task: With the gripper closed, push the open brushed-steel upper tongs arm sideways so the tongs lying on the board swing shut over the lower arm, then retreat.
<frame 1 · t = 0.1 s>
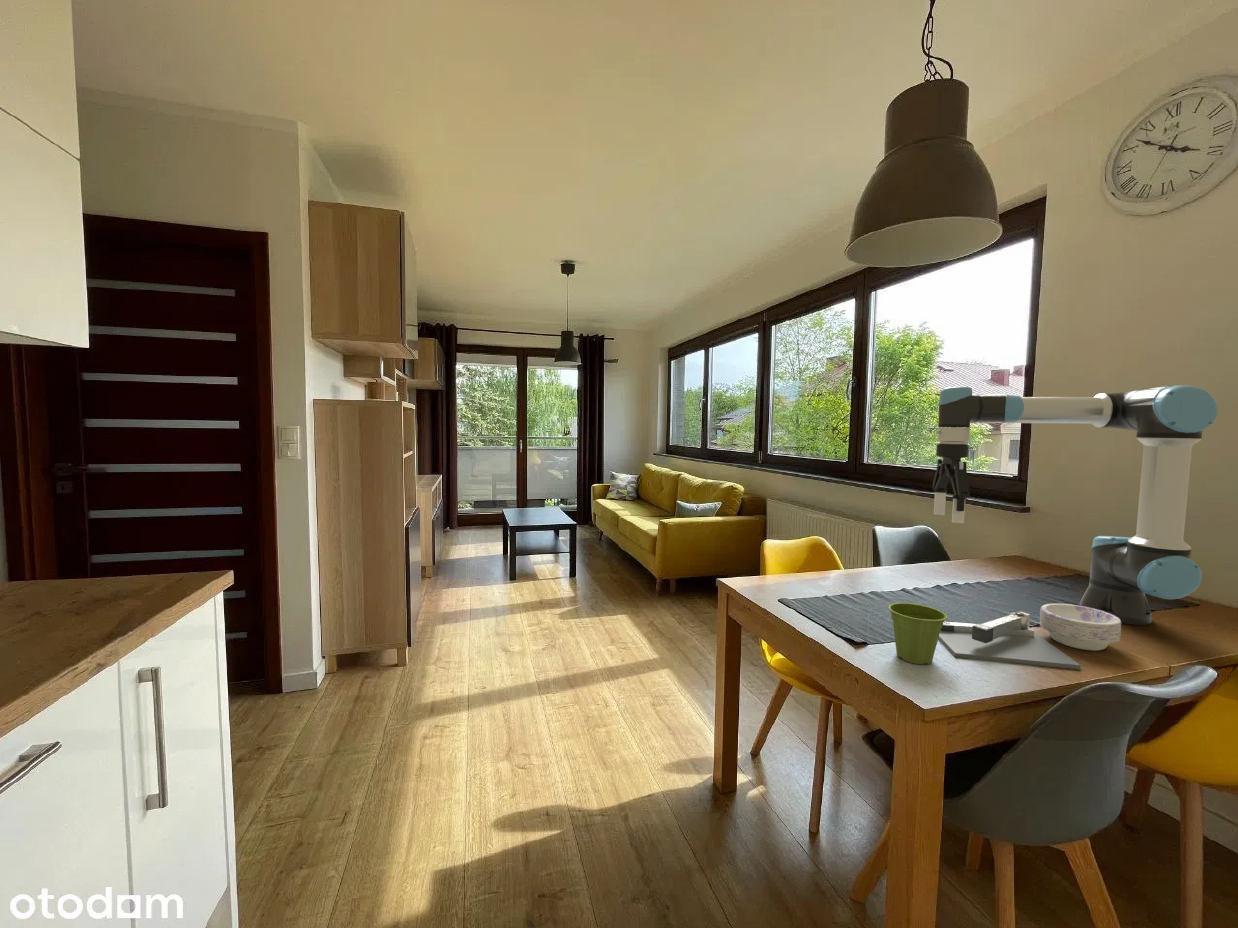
hand: (948, 518, 147), 28 cm above the table, fingers open, 13 cm apart
paper bowls: (1077, 644, 131), on the table
plant pot: (914, 659, 121), on the table
board: (994, 644, 130), on the table
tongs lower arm: (1018, 637, 134), resting on board
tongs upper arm: (1003, 625, 130), point 5 cm above the table, hinge at 38.0°
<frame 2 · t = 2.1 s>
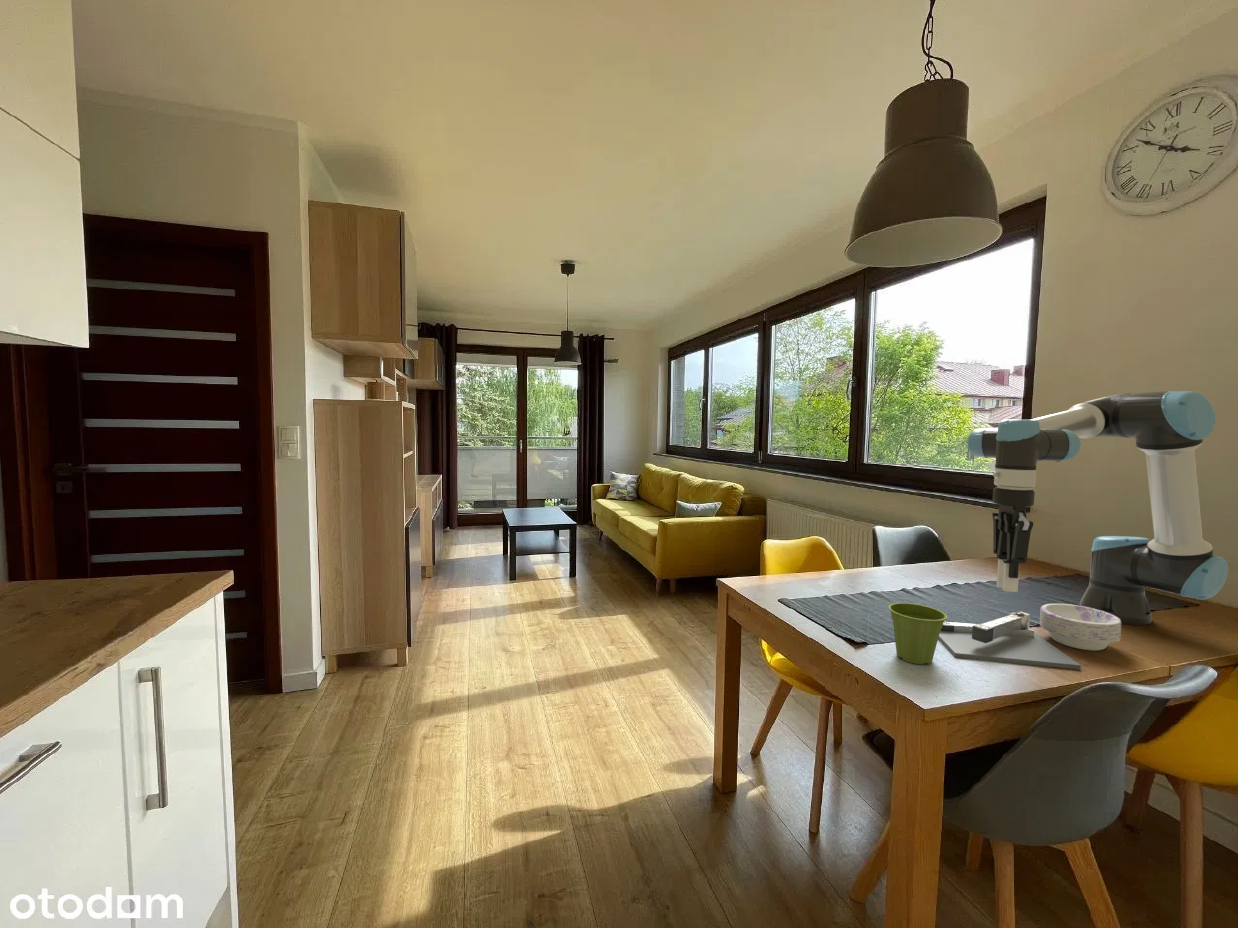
hand: (1006, 588, 121), 16 cm above the table, fingers open, 2 cm apart
nothing on the table moved.
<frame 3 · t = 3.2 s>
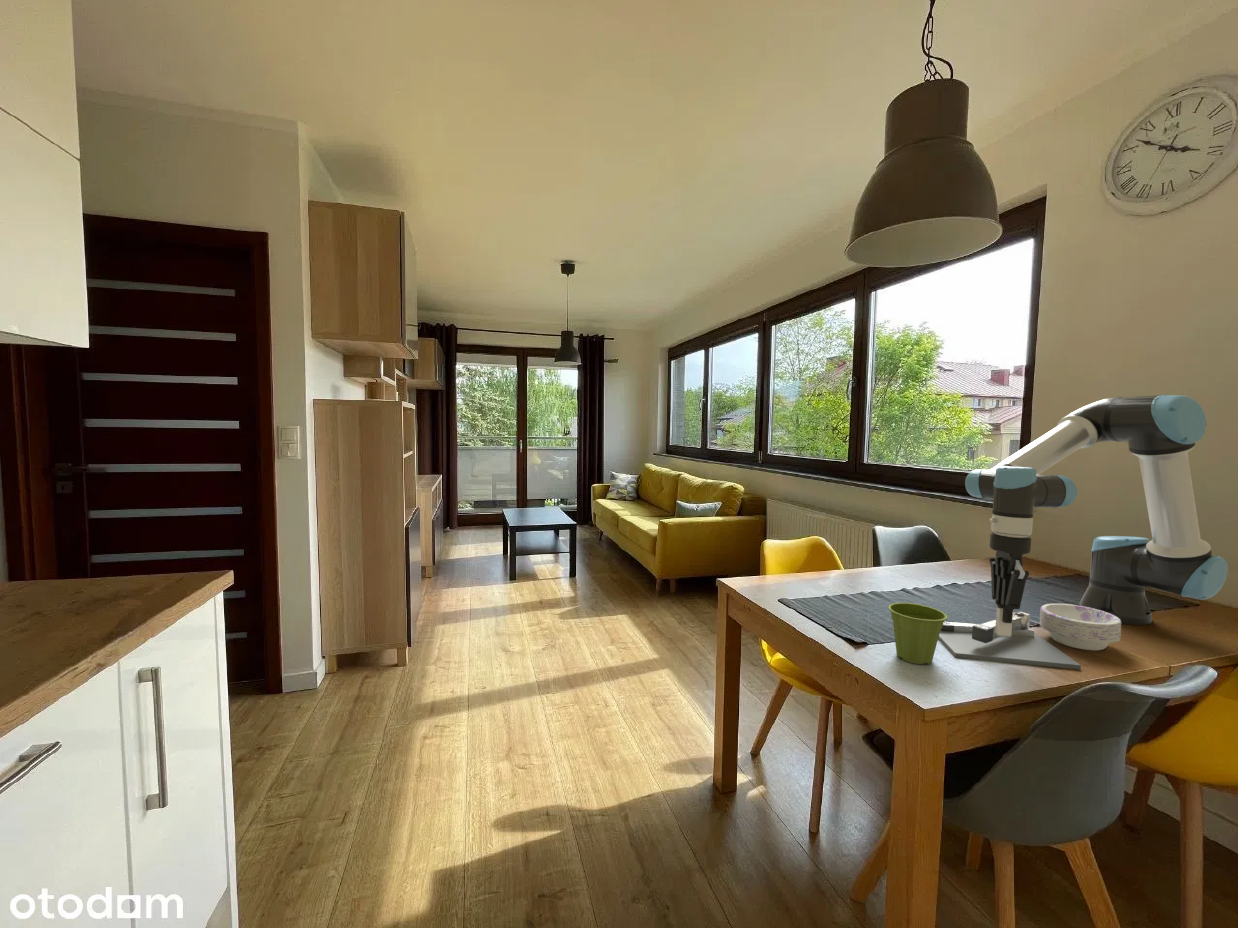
hand: (1002, 634, 121), 6 cm above the table, fingers closed
nothing on the table moved.
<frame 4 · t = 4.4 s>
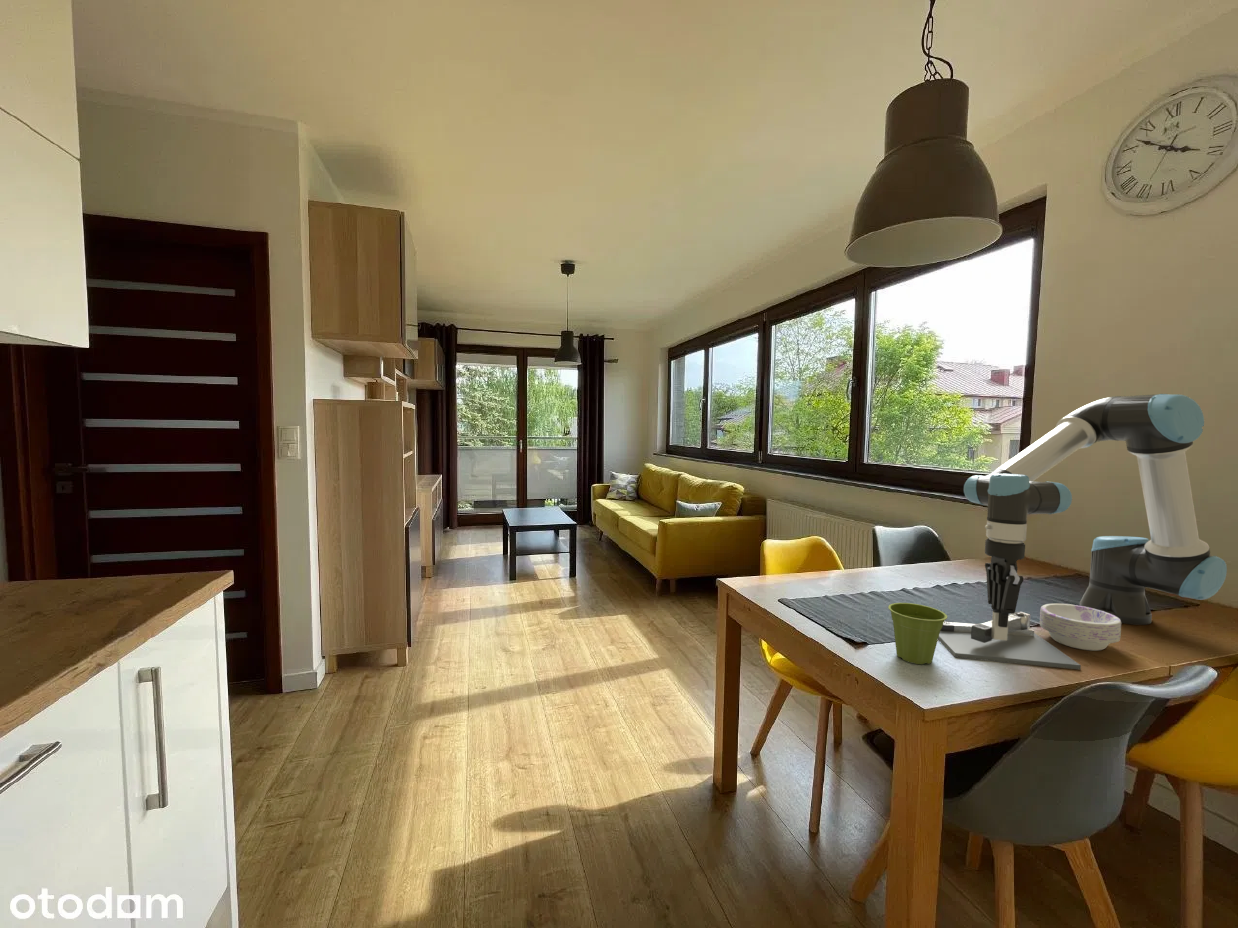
hand: (999, 638, 124), 4 cm above the table, fingers closed
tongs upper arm: (1002, 625, 130), point 5 cm above the table, hinge at 37.3°, touching gripper
everything else where it was.
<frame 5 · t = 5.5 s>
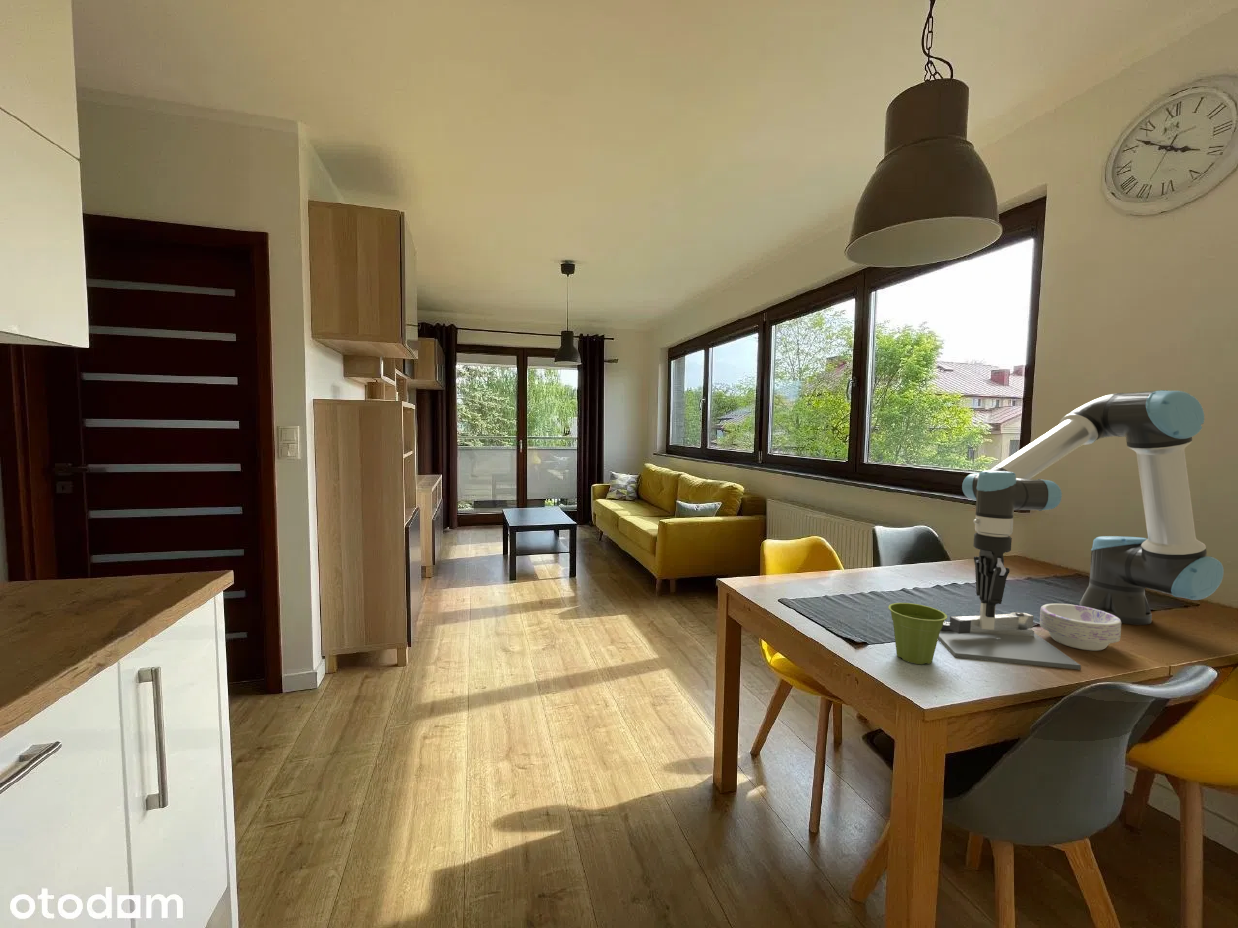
hand: (986, 628, 129), 4 cm above the table, fingers closed
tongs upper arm: (992, 621, 132), point 5 cm above the table, hinge at 19.1°, touching gripper
everything else where it was.
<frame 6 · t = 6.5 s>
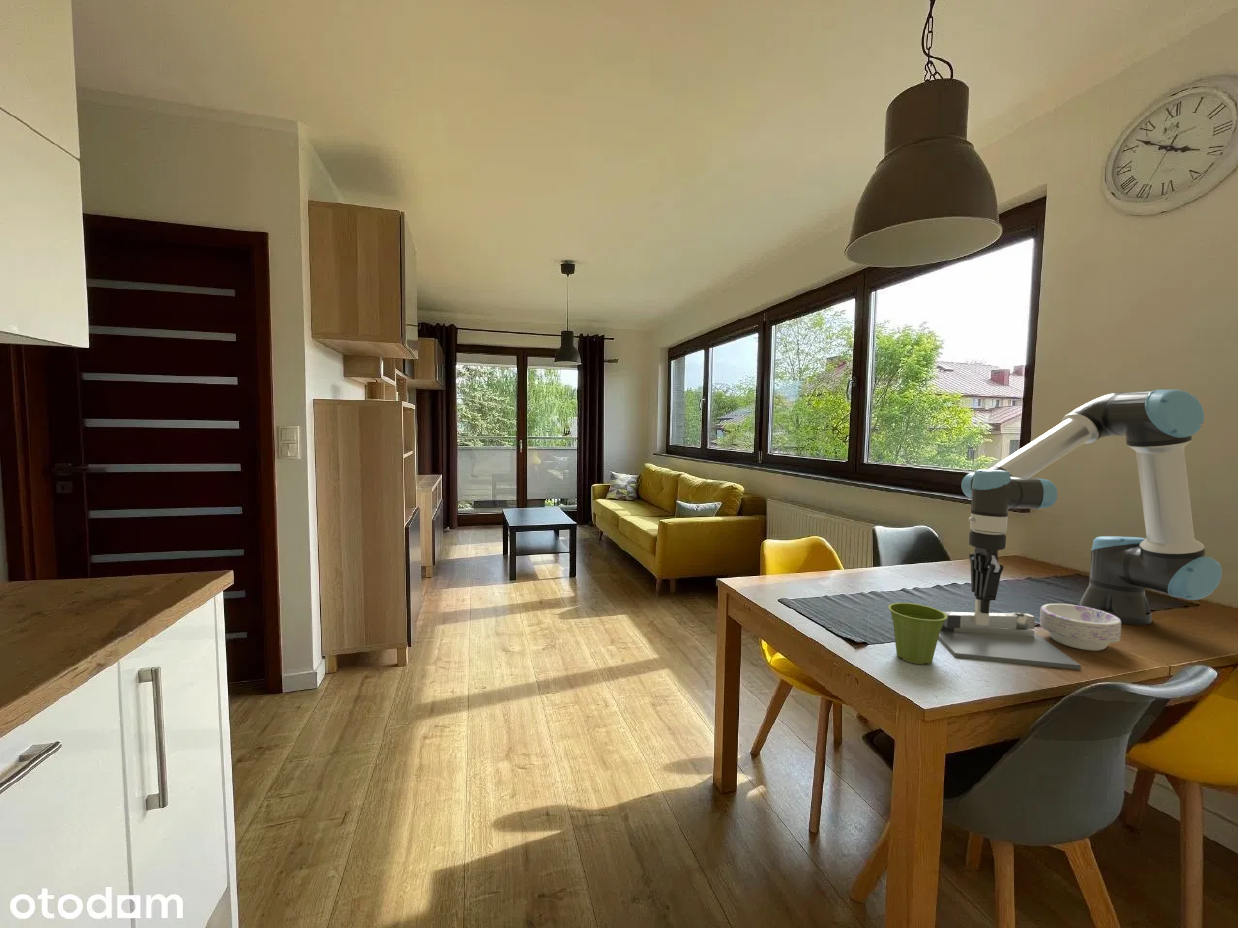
hand: (981, 624, 132), 4 cm above the table, fingers closed
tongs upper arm: (987, 619, 134), point 5 cm above the table, hinge at 7.8°, touching gripper
everything else where it was.
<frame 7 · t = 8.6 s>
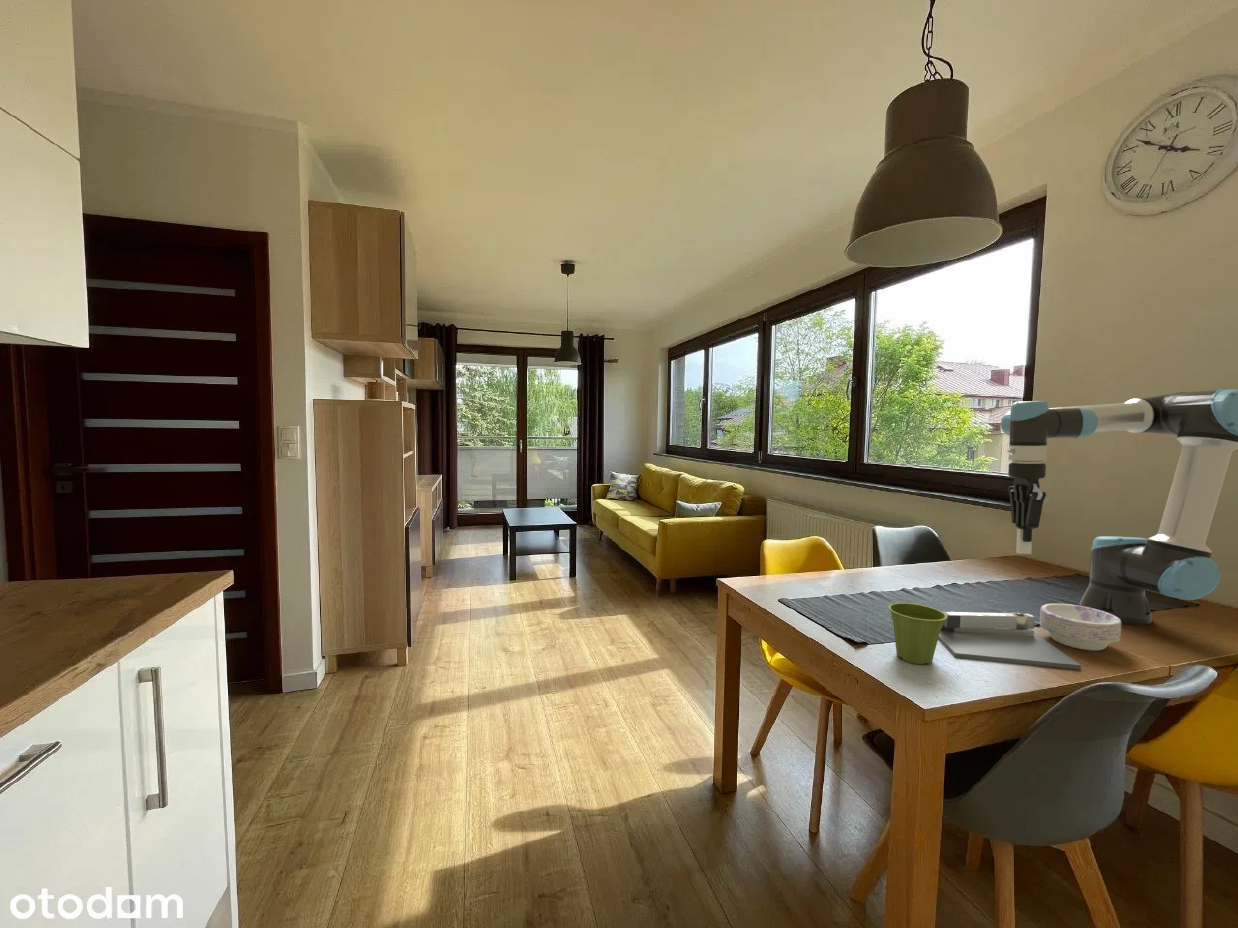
hand: (1023, 553, 135), 21 cm above the table, fingers closed
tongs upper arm: (987, 619, 134), point 5 cm above the table, hinge at 7.7°
everything else where it was.
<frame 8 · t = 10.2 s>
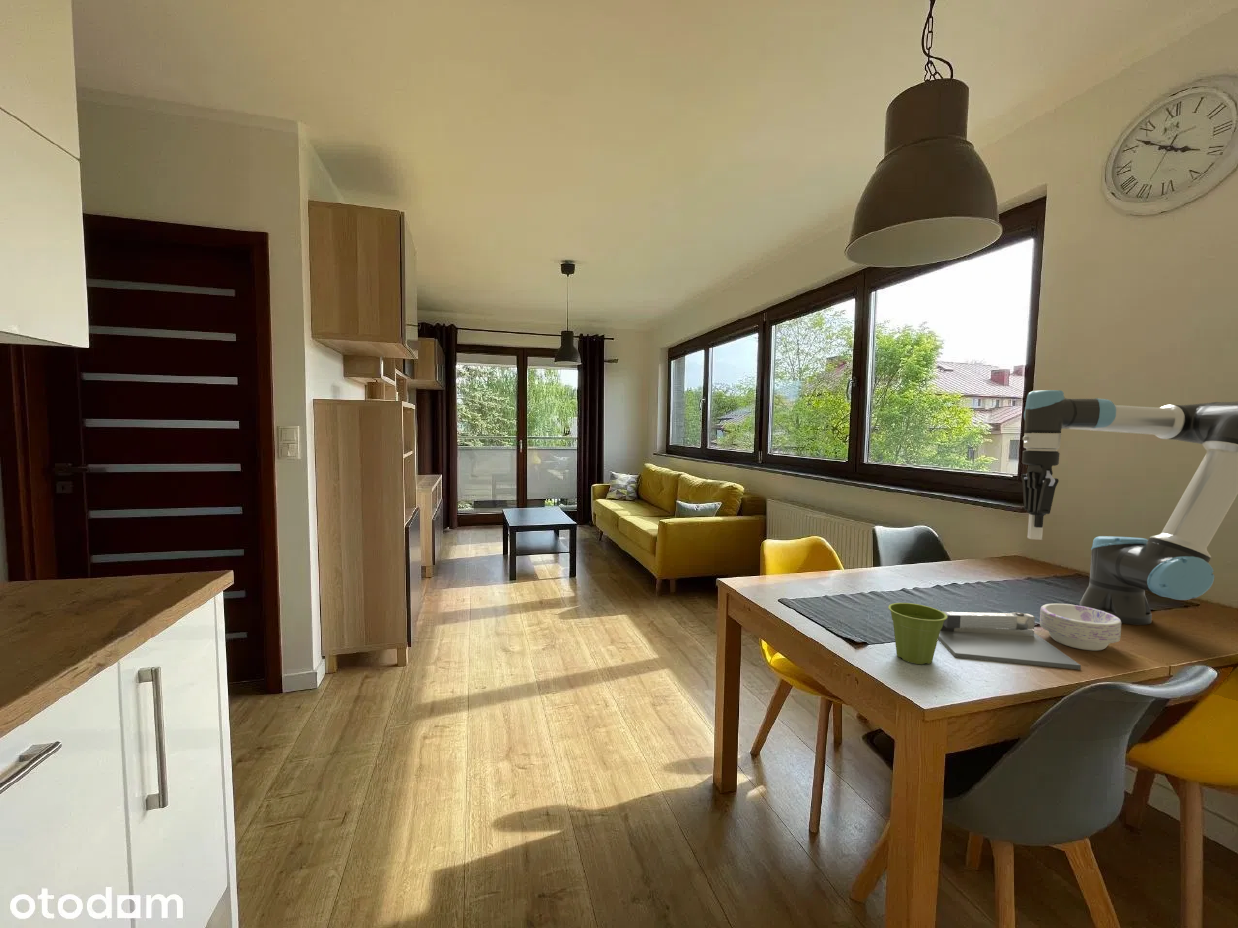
hand: (1034, 538, 139), 24 cm above the table, fingers closed
nothing on the table moved.
at the end: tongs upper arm at +8° (first picture: +38°) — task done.
